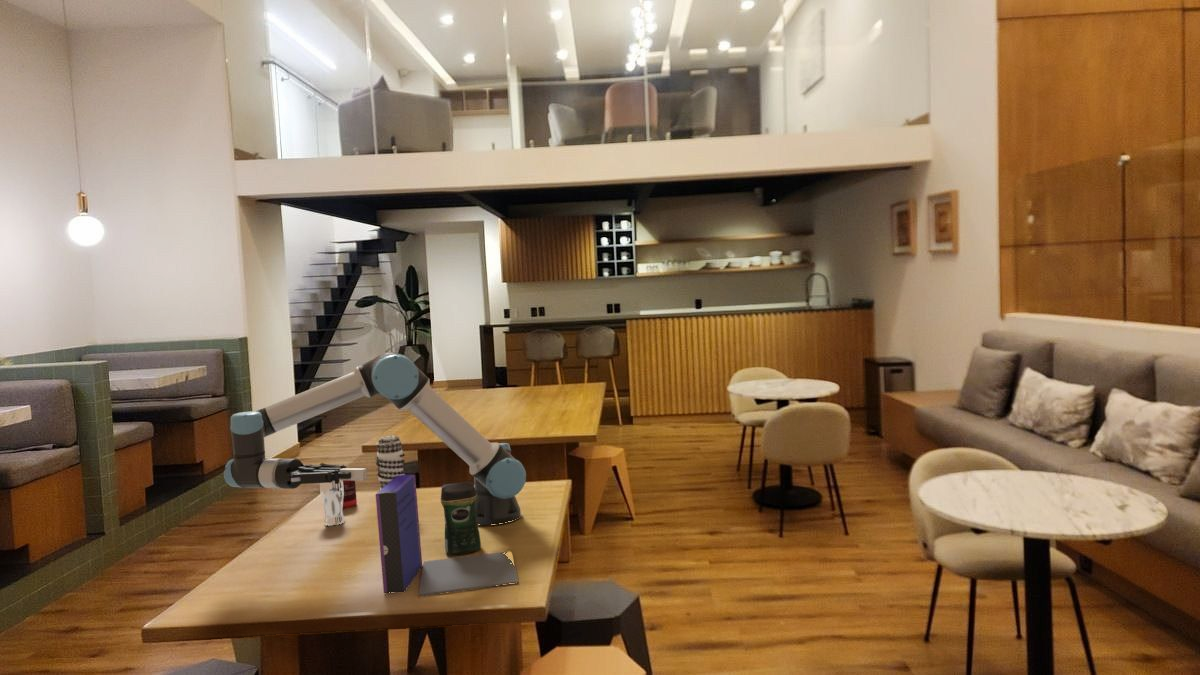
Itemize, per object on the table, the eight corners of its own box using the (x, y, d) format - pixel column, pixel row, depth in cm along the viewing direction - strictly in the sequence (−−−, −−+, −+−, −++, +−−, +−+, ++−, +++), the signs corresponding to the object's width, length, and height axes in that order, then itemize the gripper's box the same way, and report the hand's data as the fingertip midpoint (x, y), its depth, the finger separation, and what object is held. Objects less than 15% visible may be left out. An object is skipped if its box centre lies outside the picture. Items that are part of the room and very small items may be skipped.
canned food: (335, 504, 260) (333, 472, 259) (359, 502, 261) (356, 470, 260) (329, 510, 252) (327, 478, 252) (354, 508, 253) (351, 476, 252)
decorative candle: (396, 507, 250) (390, 433, 249) (415, 511, 245) (409, 435, 243) (374, 515, 243) (367, 439, 241) (392, 518, 237) (386, 440, 236)
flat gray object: (512, 552, 199) (512, 550, 199) (518, 583, 177) (518, 581, 177) (423, 563, 195) (423, 561, 195) (418, 596, 173) (418, 594, 173)
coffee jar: (479, 543, 208) (474, 477, 207) (482, 552, 201) (476, 484, 199) (444, 548, 206) (439, 481, 205) (445, 557, 198) (439, 488, 197)
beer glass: (338, 526, 233) (334, 479, 232) (318, 526, 234) (314, 479, 233) (350, 519, 239) (346, 473, 239) (331, 519, 241) (326, 473, 240)
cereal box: (403, 566, 194) (396, 475, 192) (422, 565, 194) (414, 473, 192) (383, 593, 176) (375, 493, 175) (404, 592, 176) (395, 492, 175)
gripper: (300, 481, 198) (380, 482, 192) (266, 494, 185) (350, 496, 179) (298, 453, 197) (377, 453, 191) (264, 464, 185) (348, 465, 179)
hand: (364, 474), depth 185 cm, fingers closed
